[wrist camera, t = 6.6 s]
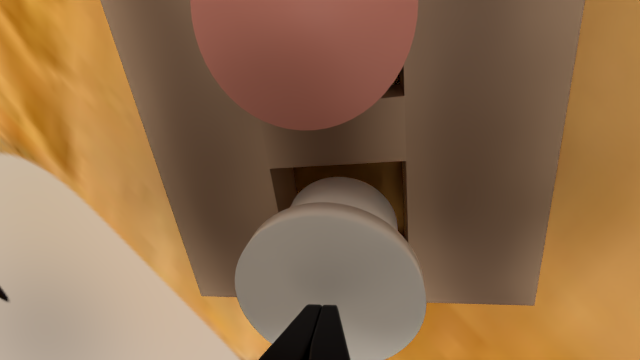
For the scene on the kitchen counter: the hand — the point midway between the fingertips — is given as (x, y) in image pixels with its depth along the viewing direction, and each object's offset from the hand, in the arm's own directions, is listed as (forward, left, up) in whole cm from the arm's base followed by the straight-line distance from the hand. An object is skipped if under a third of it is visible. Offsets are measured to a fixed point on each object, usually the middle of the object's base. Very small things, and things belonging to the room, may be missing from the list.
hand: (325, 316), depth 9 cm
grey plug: (0, 0, -5) cm, 5 cm away
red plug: (0, -7, -6) cm, 10 cm away
